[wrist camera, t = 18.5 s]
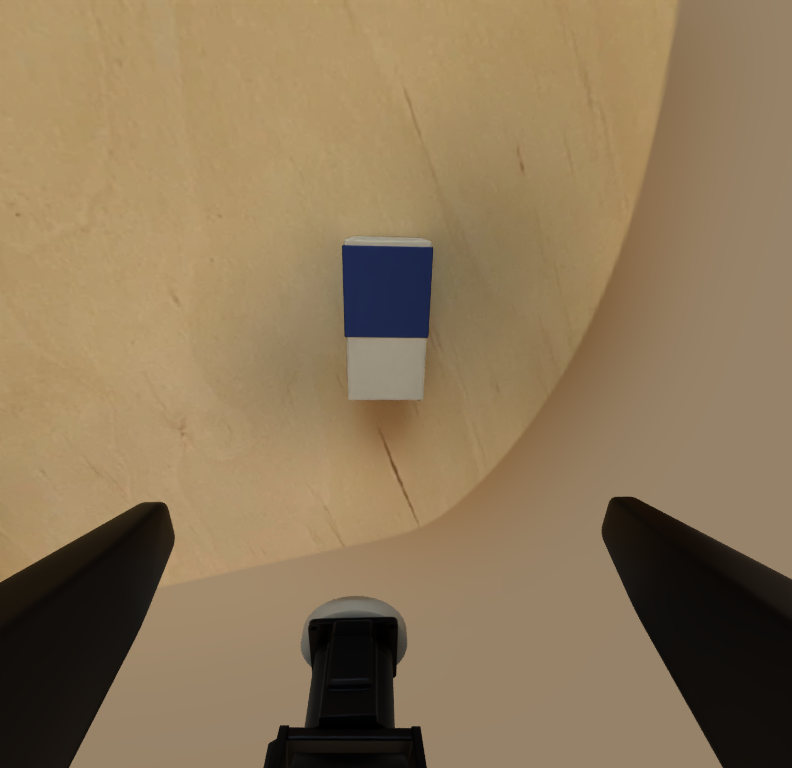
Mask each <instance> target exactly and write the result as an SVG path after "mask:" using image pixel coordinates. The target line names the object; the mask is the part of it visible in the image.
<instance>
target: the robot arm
mask: <svg viewBox="0 0 792 768" xmlns="http://www.w3.org/2000/svg"><path fill="white" fill-rule="evenodd" d="M602 537H603V540H604V543H605V545H606V547H607V549H608V552H609V554H610V556H611V558H612V560H613V563H614V565H615V567H616V569H617V572H618V574H619V576H620V578H621V580H622V583H623V585H624V587H625V590H626V592H627V594H628V596H629V598H630V601H631V602H632V605H633V607H634V609H635V611H636V613H637V615H638V617H639V619H640V621H641V622H642V624H643V626H644V628H645V630H646V632H647V633H648V635H649V637H650V639H651V641H652V642H653V644H654V646H655V648H656V649H657V651H658V653H659V655H660V656H661V658H662V660H663V662H664V664H665V665H666V667H667V669H668V670H669V672H670V674H671V676H672V678H673V679H674V681H675V683H676V685H677V687H678V689H679V690H680V692H681V694H682V696H683V697H684V699H685V701H686V703H687V705H688V706H689V708H690V710H691V711H692V714H693V715H694V717H695V719H696V721H697V722H698V724H699V726H700V728H701V730H702V731H703V733H704V735H705V737H706V738H707V740H708V742H709V744H710V746H711V747H712V749H713V751H714V753H715V754H716V756H717V758H718V760H719V762H720V763H721V765H722V767H723V768H792V579H790V578H788V577H786V576H784V575H782V574H780V573H778V572H776V571H775V570H773V569H771V568H769V567H767V566H765V565H763V564H761V563H759V562H757V561H755V560H754V559H752V558H750V557H748V556H746V555H744V554H742V553H740V552H738V551H736V550H734V549H732V548H730V547H728V546H727V545H725V544H722V543H721V542H719V541H717V540H715V539H713V538H711V537H709V536H707V535H705V534H704V533H701V532H700V531H698V530H696V529H694V528H692V527H690V526H688V525H686V524H684V523H683V522H681V521H679V520H677V519H675V518H673V517H671V516H669V515H667V514H665V513H663V512H661V511H660V510H658V509H656V508H654V507H652V506H649V505H648V504H646V503H644V502H642V501H640V500H638V499H636V498H634V497H614V498H612V499H611V500H610V501H609V504H608V507H607V511H606V514H605V518H604V522H603V525H602ZM174 540H175V535H174V530H173V526H172V522H171V518H170V514H169V510H168V507H167V505H166V504H165V503H163V502H144V503H140V504H138V505H136V506H135V507H133V508H131V509H129V510H128V511H126V512H124V513H122V514H120V515H119V516H117V517H115V518H113V519H112V520H110V521H108V522H106V523H105V524H103V525H101V526H99V527H98V528H96V529H94V530H92V531H90V532H89V533H87V534H85V535H83V536H82V537H80V538H78V539H76V540H75V541H73V542H71V543H69V544H67V545H66V546H64V547H62V548H60V549H59V550H57V551H55V552H53V553H52V554H50V555H48V556H46V557H45V558H43V559H41V560H39V561H37V562H36V563H34V564H32V565H30V566H29V567H27V568H25V569H23V570H22V571H20V572H18V573H16V574H14V575H13V576H11V577H9V578H7V579H6V580H4V581H2V582H0V768H69V766H70V764H71V762H72V760H73V759H74V757H75V755H76V753H77V751H78V749H79V747H80V745H81V743H82V741H83V739H84V737H85V735H86V733H87V731H88V729H89V727H90V726H91V723H92V722H93V720H94V718H95V716H96V714H97V712H98V710H99V708H100V706H101V704H102V702H103V700H104V698H105V696H106V694H107V692H108V691H109V689H110V687H111V685H112V683H113V681H114V679H115V677H116V675H117V673H118V671H119V669H120V667H121V665H122V663H123V661H124V659H125V657H126V656H127V654H128V652H129V650H130V648H131V646H132V644H133V642H134V640H135V638H136V636H137V634H138V631H139V630H140V628H141V625H142V623H143V621H144V618H145V616H146V614H147V611H148V609H149V606H150V604H151V601H152V599H153V596H154V594H155V591H156V589H157V586H158V584H159V581H160V579H161V576H162V574H163V571H164V569H165V566H166V564H167V561H168V559H169V556H170V554H171V551H172V549H173V546H174ZM308 635H309V646H310V657H311V668H312V680H311V687H310V694H309V701H308V709H307V715H306V722H305V728H299V727H297V728H296V727H295V728H294V727H289V726H288V725H287V726H285V725H280V727H279V732H278V736H277V739H276V740H274V741H272V742H270V743H269V744H268V749H267V754H266V759H265V764H264V768H427V766H426V760H425V754H424V747H423V741H422V734H421V728H420V726H412V727H411V728H395V723H394V695H393V678H395V677H396V672H397V645H398V620H397V618H395V617H357V618H320V619H312V620H310V621H309V626H308Z"/></svg>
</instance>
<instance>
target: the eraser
mask: <svg viewBox="0 0 792 768" xmlns="http://www.w3.org/2000/svg"><path fill="white" fill-rule="evenodd" d="M342 260H343V295H344V330H345V337H346V346H347V383H348V399H349V400H423V395H424V377H425V359H426V340H427V338H428V334H429V316H430V298H431V280H432V262H433V247H432V243H431V241H429V240H425V239H421V238H412V237H368V236H352V237H350V238H347V239H345V240H344V245H343V246H342Z"/></svg>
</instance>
